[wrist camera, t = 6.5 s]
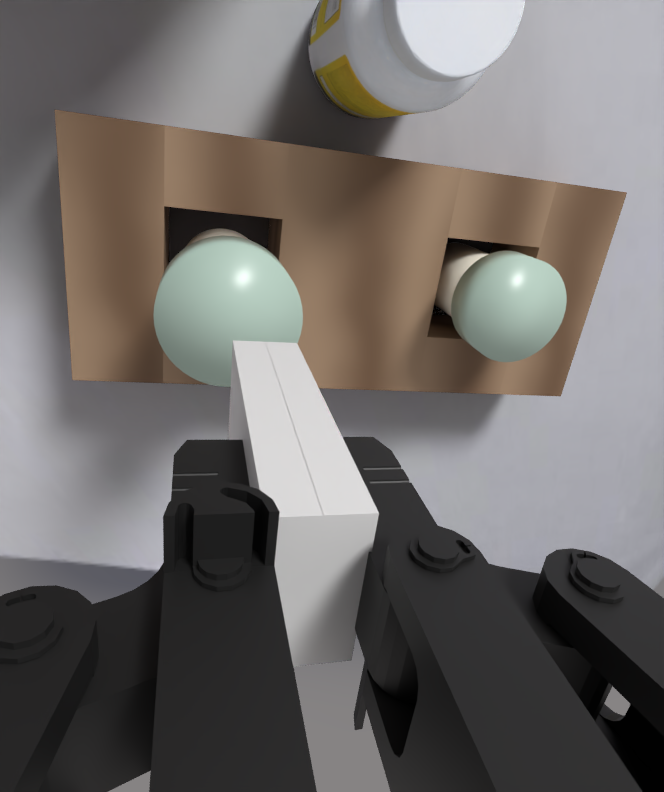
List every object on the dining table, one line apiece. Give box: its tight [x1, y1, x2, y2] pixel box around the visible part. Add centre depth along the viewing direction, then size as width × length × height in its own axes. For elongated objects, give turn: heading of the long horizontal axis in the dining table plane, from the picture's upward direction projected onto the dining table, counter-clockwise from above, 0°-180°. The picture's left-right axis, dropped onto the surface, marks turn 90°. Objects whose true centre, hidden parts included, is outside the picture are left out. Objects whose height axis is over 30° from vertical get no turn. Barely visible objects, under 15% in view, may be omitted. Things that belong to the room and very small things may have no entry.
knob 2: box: [434, 242, 567, 362], centre depth 30 cm, size 5×5×8 cm
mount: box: [55, 110, 627, 396], centre depth 30 cm, size 28×12×5 cm, turn 83°
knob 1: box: [154, 228, 303, 387], centre depth 23 cm, size 5×5×8 cm
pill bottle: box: [309, 0, 525, 119], centre depth 23 cm, size 6×6×12 cm
